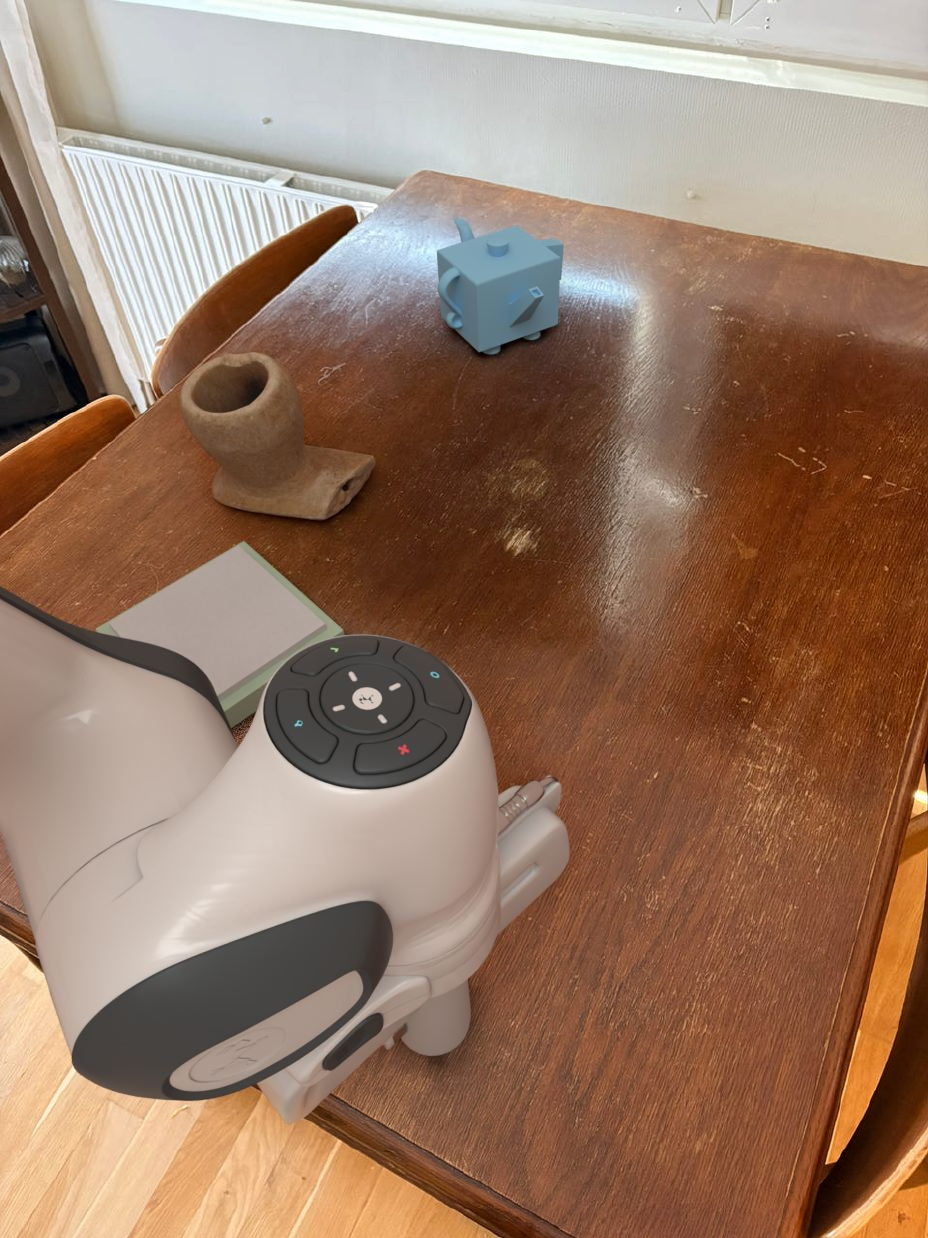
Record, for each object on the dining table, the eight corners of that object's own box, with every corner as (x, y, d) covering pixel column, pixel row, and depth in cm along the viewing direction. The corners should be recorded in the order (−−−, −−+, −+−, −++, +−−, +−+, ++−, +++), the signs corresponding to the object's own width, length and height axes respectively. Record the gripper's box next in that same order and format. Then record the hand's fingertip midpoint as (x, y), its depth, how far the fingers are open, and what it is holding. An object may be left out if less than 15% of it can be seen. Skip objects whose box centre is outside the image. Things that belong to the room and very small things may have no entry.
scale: (196, 753, 70) (184, 730, 67) (104, 646, 77) (91, 622, 75) (347, 647, 76) (342, 623, 74) (249, 558, 84) (241, 534, 81)
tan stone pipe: (190, 523, 87) (142, 393, 76) (246, 448, 94) (209, 319, 83) (333, 553, 84) (305, 421, 72) (380, 472, 91) (360, 341, 80)
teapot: (478, 385, 100) (475, 291, 92) (406, 313, 111) (397, 223, 102) (596, 342, 105) (603, 249, 96) (515, 277, 115) (515, 188, 107)
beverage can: (380, 1028, 56) (354, 957, 47) (425, 964, 58) (409, 884, 49) (442, 1076, 54) (428, 1011, 45) (487, 1007, 56) (482, 932, 47)
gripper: (516, 726, 48) (516, 845, 59) (188, 995, 40) (256, 1078, 50) (605, 801, 45) (587, 913, 56) (269, 1112, 36) (323, 1174, 47)
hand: (428, 993), depth 53 cm, fingers closed on beverage can, 5 cm apart
